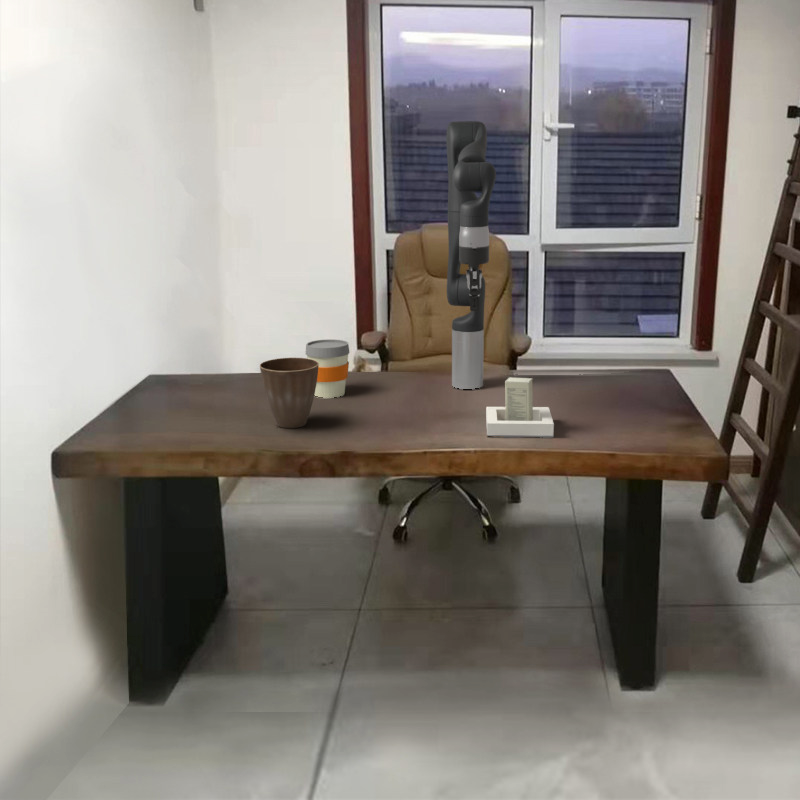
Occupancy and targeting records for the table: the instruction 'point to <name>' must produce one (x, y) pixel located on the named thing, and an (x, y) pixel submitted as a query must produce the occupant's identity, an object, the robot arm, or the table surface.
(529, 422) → the holder
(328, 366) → the reusable coffee cup
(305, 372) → the plant pot
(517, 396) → the skincare box
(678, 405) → the table surface
